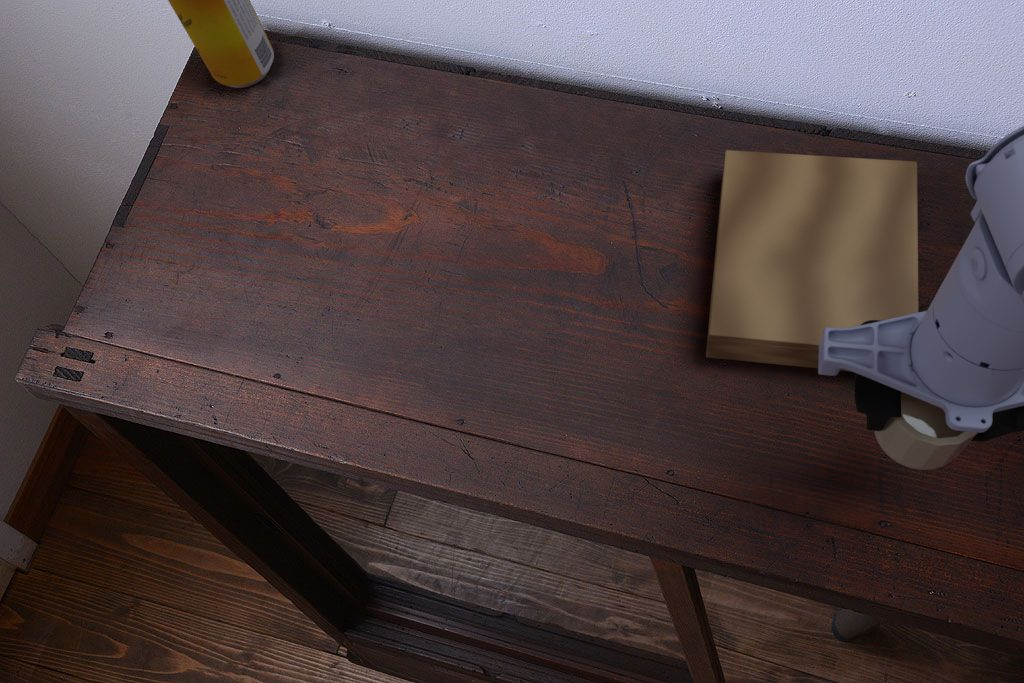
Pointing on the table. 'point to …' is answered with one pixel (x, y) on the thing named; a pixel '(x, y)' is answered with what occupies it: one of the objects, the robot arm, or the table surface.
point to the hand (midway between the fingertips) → (923, 420)
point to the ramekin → (921, 436)
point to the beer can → (227, 39)
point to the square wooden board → (809, 252)
